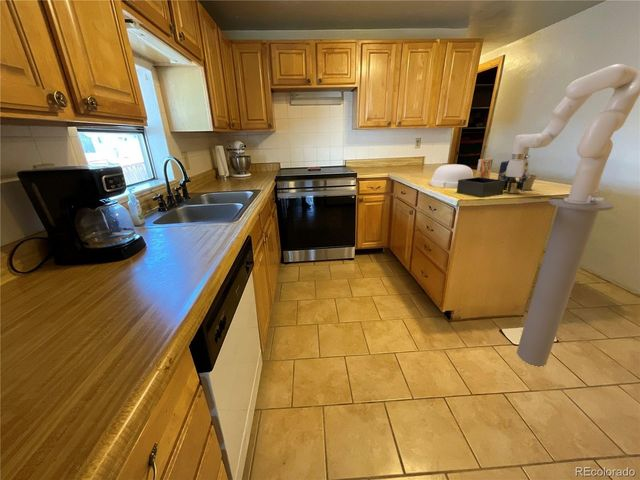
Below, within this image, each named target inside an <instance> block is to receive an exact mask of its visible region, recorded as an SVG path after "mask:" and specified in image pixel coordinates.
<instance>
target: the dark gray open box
mask: <svg viewBox="0 0 640 480" xmlns="http://www.w3.org/2000/svg"><path fill="white" fill-rule="evenodd" d="M504 185H505V180H498V178H490V177H489V178H481V177H477V178H476V177H473V178H469V179H461V180H458V186H457V188H456V193H458V194H462V195H468V196H473V197H476V198H477V197H478V198H486V197H487V198H488V197H492V196H493V197H494V196H498V195H503V194H504V190H505V189H504Z"/></svg>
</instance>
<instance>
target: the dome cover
mask: <svg viewBox="0 0 640 480" xmlns="http://www.w3.org/2000/svg"><path fill="white" fill-rule="evenodd" d="M432 174H433V175H432V178H431V179H430V181H429V186H432V187H436V188H441V189H457V186H458V180H461V179H469V178H474V171H473V170H472V168H471V167H469V166H468V165H466V164H457V163H453V164H452V163H451V164H450V163H449V164H444V165H440V166H438V167H437V168H435V170H434V172H433V173H432Z"/></svg>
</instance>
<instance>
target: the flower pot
mask: <svg viewBox="0 0 640 480" xmlns="http://www.w3.org/2000/svg"><path fill="white" fill-rule="evenodd" d="M530 175H531V177H530V178H528V179H527V180H526V181H525V182H524V183H523V187H522V189H520V190H519V191H531V190H532V187H533V185H534V183H535V180H536V179H537V177H538V175H535V174H530ZM524 178H525V177H524Z"/></svg>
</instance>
